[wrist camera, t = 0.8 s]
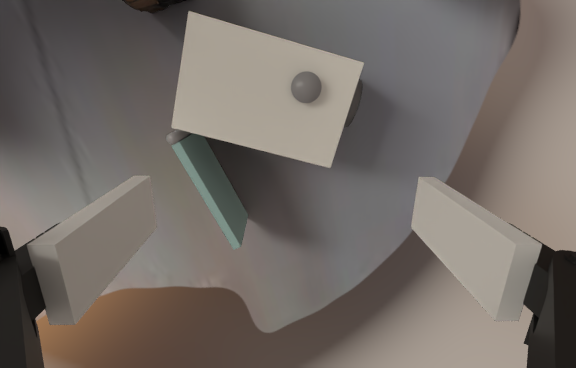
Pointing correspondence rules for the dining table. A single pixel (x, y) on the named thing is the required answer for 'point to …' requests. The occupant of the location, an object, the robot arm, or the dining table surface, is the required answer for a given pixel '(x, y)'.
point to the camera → (151, 4)
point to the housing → (264, 91)
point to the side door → (211, 183)
